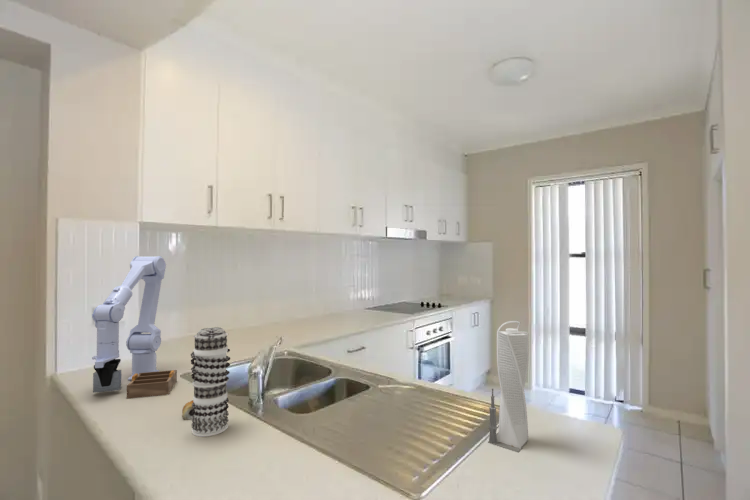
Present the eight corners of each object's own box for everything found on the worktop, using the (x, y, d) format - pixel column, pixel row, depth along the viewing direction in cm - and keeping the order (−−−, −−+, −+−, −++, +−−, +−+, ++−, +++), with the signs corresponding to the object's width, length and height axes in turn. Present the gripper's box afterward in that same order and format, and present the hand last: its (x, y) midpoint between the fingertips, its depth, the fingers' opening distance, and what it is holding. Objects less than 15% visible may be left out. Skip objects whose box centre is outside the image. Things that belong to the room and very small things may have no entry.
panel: (95, 390, 119) (95, 371, 119) (121, 388, 121) (121, 369, 122) (93, 392, 117) (93, 373, 118) (118, 390, 120) (119, 371, 120)
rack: (139, 384, 128) (139, 369, 128) (176, 381, 132) (176, 366, 132) (126, 398, 115) (126, 381, 115) (168, 394, 119) (168, 378, 119)
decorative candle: (191, 424, 97) (192, 327, 98) (230, 418, 100) (230, 325, 101) (187, 440, 89) (188, 333, 89) (229, 433, 92) (230, 331, 93)
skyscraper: (501, 431, 94) (500, 318, 94) (535, 441, 88) (533, 321, 89) (487, 443, 87) (486, 322, 88) (523, 455, 82) (522, 326, 83)
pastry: (182, 409, 108) (183, 395, 108) (208, 405, 110) (208, 392, 111) (181, 421, 99) (182, 407, 99) (209, 417, 102) (209, 403, 102)
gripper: (101, 338, 125) (101, 379, 125) (83, 347, 112) (82, 393, 111) (126, 336, 128) (125, 376, 127) (110, 346, 114) (110, 391, 113)
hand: (107, 384), depth 119 cm, fingers closed on panel, 2 cm apart
